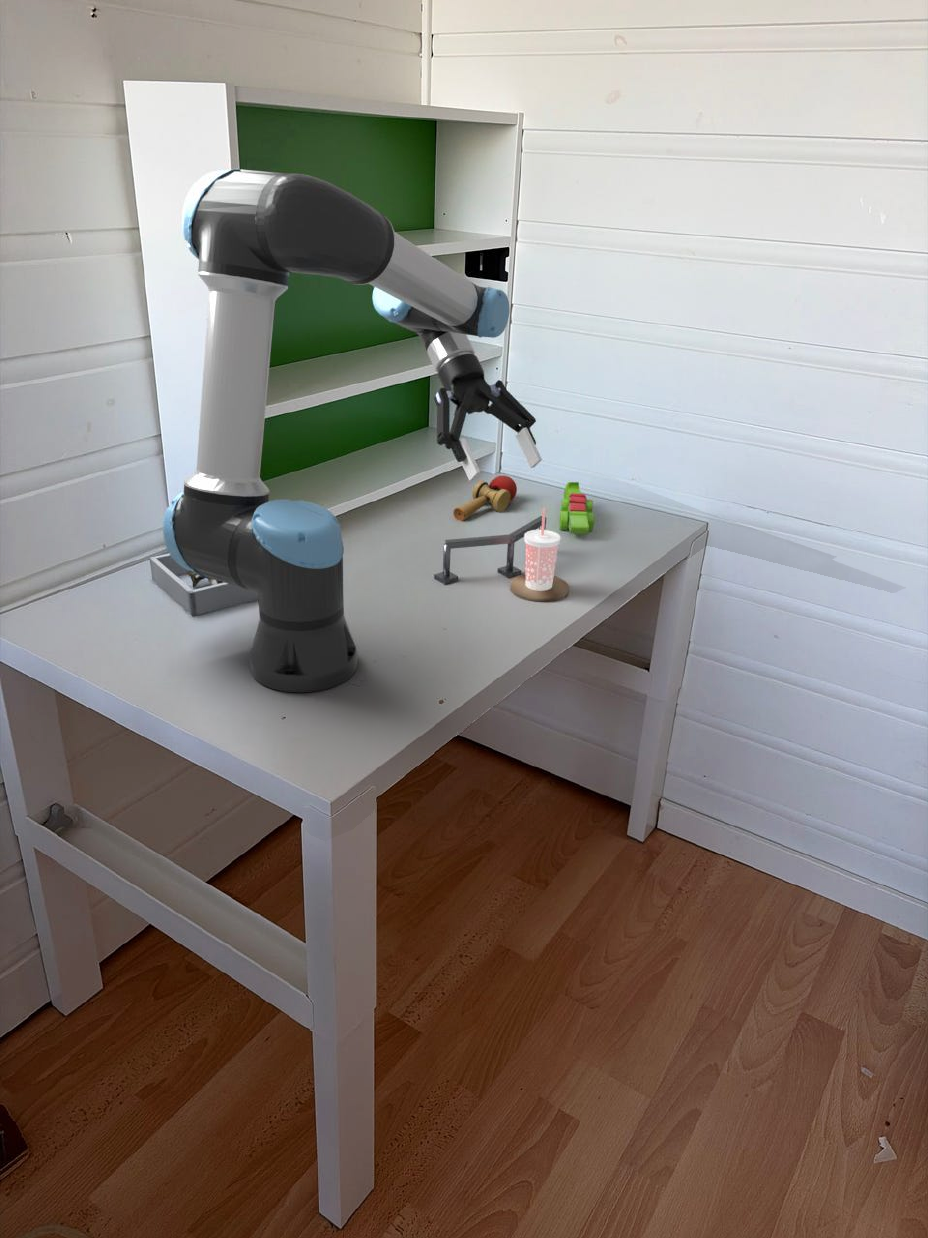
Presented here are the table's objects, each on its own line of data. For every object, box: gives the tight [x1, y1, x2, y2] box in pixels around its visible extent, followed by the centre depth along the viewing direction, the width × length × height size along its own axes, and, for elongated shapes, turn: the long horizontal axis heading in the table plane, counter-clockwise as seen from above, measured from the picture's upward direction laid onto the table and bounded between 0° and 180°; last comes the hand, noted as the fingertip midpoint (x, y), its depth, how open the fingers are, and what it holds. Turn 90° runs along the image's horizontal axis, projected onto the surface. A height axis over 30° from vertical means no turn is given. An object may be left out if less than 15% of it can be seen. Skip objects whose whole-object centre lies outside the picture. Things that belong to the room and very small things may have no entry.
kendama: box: [453, 475, 518, 522], centre depth 195 cm, size 8×6×18 cm
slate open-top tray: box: [149, 553, 258, 617], centre depth 156 cm, size 14×17×4 cm
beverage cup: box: [523, 506, 561, 591], centre depth 158 cm, size 6×6×14 cm
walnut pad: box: [509, 573, 570, 603], centre depth 161 cm, size 10×10×1 cm
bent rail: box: [433, 515, 547, 585], centre depth 167 cm, size 25×7×7 cm, turn 128°
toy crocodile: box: [558, 481, 595, 535], centre depth 189 cm, size 20×7×6 cm, turn 175°
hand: (506, 470), depth 160 cm, fingers open, 13 cm apart
